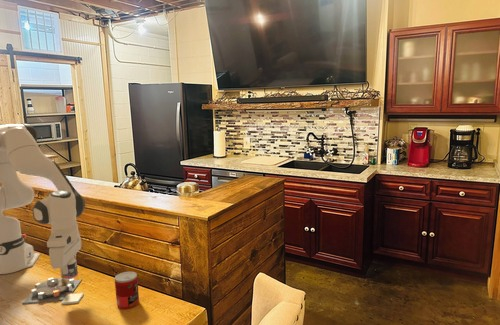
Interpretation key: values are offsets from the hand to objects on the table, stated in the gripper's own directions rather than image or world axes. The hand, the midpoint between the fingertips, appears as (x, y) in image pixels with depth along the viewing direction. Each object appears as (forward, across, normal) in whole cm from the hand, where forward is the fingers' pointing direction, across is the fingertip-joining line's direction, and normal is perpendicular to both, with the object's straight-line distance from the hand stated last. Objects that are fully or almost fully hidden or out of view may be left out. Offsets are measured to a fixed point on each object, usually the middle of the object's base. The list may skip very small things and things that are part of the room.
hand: (69, 269), depth 132 cm
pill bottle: (+3, 0, 0) cm, 3 cm away
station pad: (+12, 0, 0) cm, 12 cm away
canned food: (+13, +7, +22) cm, 26 cm away
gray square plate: (+12, -8, -10) cm, 18 cm away
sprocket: (+12, -8, -10) cm, 18 cm away
